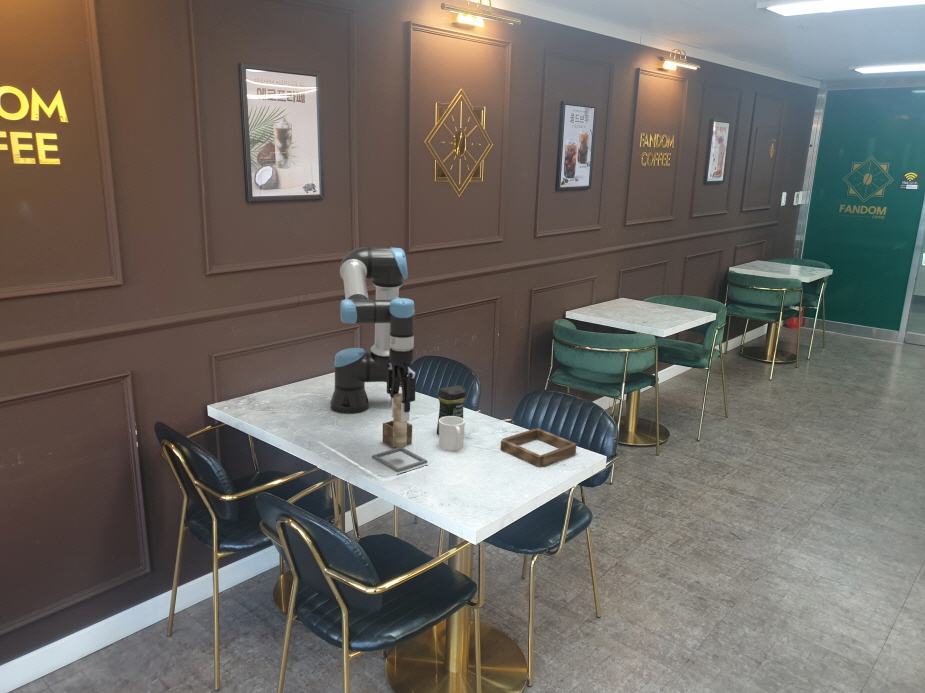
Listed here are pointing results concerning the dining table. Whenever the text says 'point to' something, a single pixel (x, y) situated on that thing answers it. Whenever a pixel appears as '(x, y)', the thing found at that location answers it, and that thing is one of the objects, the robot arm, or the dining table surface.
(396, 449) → the tray
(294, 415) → the dining table surface
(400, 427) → the dowel
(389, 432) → the pen cup
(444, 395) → the coffee jar
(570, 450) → the frame
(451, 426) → the mug
